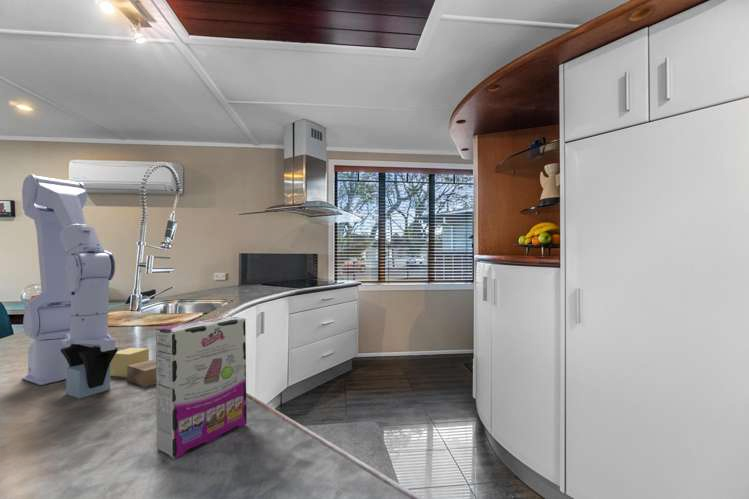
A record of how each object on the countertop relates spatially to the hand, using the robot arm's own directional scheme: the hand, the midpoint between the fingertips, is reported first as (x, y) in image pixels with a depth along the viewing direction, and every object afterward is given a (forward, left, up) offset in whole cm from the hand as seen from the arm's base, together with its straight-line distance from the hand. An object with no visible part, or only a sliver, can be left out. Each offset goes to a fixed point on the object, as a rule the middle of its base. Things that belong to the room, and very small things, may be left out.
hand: (88, 384), depth 67 cm
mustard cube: (-5, +10, -2) cm, 11 cm away
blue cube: (0, 0, -2) cm, 2 cm away
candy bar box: (+36, -1, -2) cm, 36 cm away
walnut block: (+4, +10, -2) cm, 11 cm away
